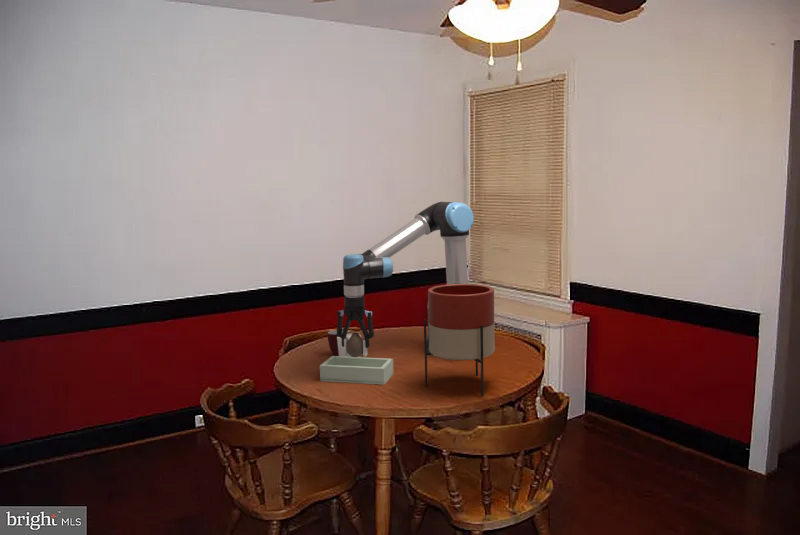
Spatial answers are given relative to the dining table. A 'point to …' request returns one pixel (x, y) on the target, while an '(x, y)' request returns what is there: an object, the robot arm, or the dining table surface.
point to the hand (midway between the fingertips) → (355, 355)
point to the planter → (460, 324)
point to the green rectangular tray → (356, 370)
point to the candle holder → (340, 348)
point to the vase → (355, 345)
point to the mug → (333, 342)
